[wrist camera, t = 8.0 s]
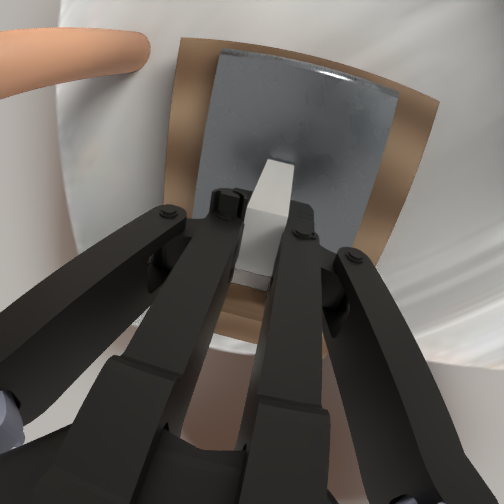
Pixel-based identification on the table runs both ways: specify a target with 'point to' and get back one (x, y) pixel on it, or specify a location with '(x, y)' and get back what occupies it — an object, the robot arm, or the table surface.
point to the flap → (296, 136)
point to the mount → (190, 147)
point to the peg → (66, 56)
